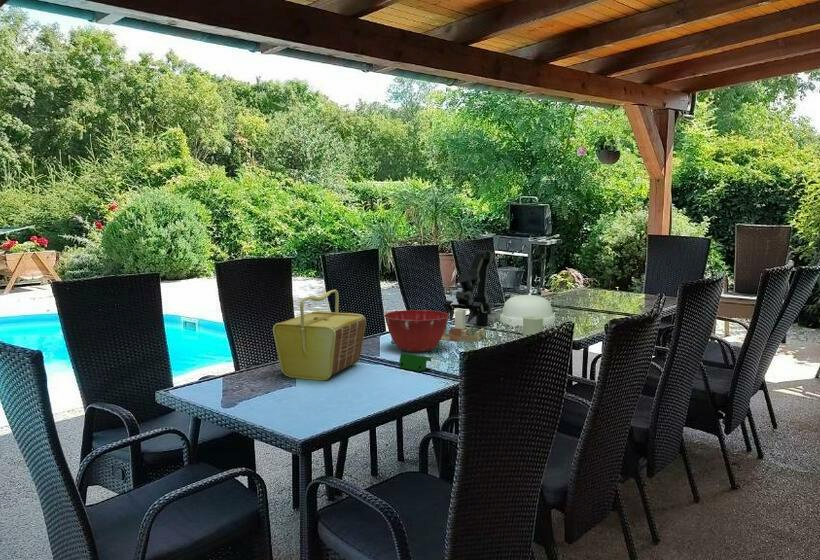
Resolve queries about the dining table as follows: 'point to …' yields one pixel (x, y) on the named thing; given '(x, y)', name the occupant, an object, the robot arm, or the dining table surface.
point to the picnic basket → (319, 341)
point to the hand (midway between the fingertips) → (459, 321)
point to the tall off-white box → (460, 319)
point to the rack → (463, 335)
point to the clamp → (413, 362)
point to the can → (532, 324)
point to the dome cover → (526, 309)
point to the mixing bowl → (416, 329)
